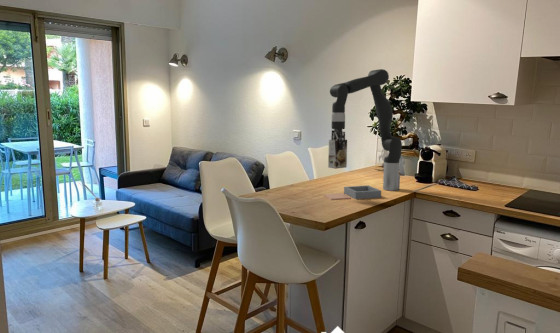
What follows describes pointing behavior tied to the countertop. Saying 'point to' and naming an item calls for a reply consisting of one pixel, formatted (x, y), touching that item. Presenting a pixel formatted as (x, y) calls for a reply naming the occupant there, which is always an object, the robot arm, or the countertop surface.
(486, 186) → the countertop surface
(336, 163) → the coffee box
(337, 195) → the coaster
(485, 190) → the countertop surface
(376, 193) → the grey square tray
